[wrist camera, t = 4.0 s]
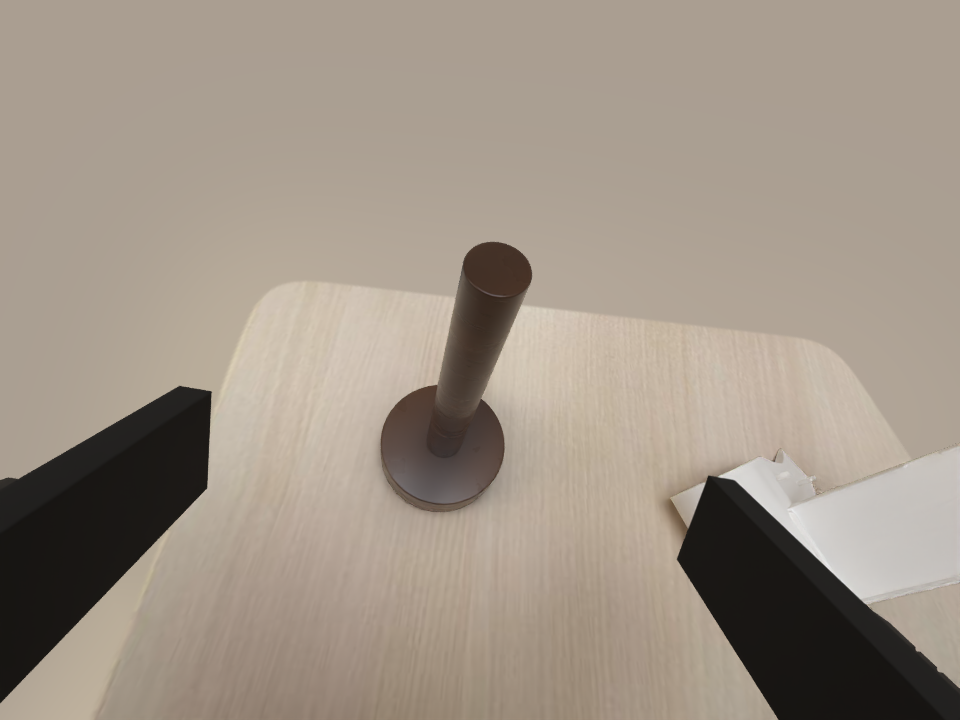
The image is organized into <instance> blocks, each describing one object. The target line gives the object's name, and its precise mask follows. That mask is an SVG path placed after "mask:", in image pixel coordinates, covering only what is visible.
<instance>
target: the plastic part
mask: <svg viewBox="0 0 960 720" xmlns="http://www.w3.org/2000/svg"><path fill="white" fill-rule="evenodd" d="M718 477H720V478H726V479H732V480H735V481H736V482H737V483H738V484H739V485H740V486H742V487H743V488H744V489H745V490H746V491H747V492H748V493H749V494H750V495H751V496H752V497H753V498H754V499H755V500H756V501H757V502H758V503H759V504H760V505H762V506H763V507H764V508H765V509H766V510H767V511H768V512H769V513H770V514H771V515H772V516H773V517H774V518H775V519H776V520H777V521H778V522H779V523H780V524H782V525H783V526H784V527H785V528H786V529H787V530H788V531H789V532H790V533H791V534H792V535H793V536H794V537H795V538H796V539H797V540H798V541H799V542H800V543H802V544H803V545H804V546H805V547H806V548H807V549H808V550H809V551H810V552H811V553H812V554H813V555H814V556H815V557H816V558H817V559H818V560H819V561H820V562H822V563H823V564H824V565H825V566H826V567H827V568H828V569H829V570H830V571H831V572H832V573H833V574H834V575H835V576H836V577H837V578H838V579H839V580H840V581H842V582H843V583H844V584H845V585H846V586H847V587H848V588H849V589H850V590H851V591H852V592H853V593H854V594H855V595H856V596H857V597H858V598H859V599H860V600H862V601H863V602H864V603H865V604H870V603H874V602H878V601H883V600H887V599H891V598H896V597H900V596H904V595H909V594H913V593H917V592H922V591H926V590H930V589H935V588H939V587H943V586H948V585H952V584H957V583H960V443H958V444H955V445H952V446H949V447H947V448H944V449H941V450H938V451H936V452H933V453H930V454H928V455H925V456H922V457H920V458H917V459H914V460H911V461H908V462H906V463H903V464H900V465H898V466H895V467H892V468H889V469H887V470H884V471H881V472H878V473H876V474H873V475H870V476H867V477H865V478H862V479H859V480H856V481H854V482H851V483H848V484H845V485H843V486H840V487H837V488H835V489H832V490H829V491H826V492H824V493H821V494H818V495H816V493H815V490H814V487H813V485H812V482H813V481H814V480H816V477H815V476H814V475H813V476H810V477H807V476H806V475H805V474H804V472H803V471H802V470H801V469H800V468H799V467H798V466H797V465H796V464H795V463H794V462H793V460H792V459H791V458H790V457H789V456H788V455H787V454H786V453H785V452H784V451H783V450H782V449H779V451H778V453H777V456H776V459H775V462H772V461H770V460H768V459H766V458H763V457H757V458H755V459H753V460H751V461H749V462H747V463H745V464H743V465H741V466H739V467H737V468H735V469H733V470H731V471H728V472H726V473H724V474H722V475H720V476H718ZM705 483H706V482H705ZM705 483H700V484H697V485H695V486H693V487H691V488H689V489H687V490H685V491H683V492H681V493H678V494H676V495H674V496H672V497H671V500H672V502H673V503H674V505H675V507H676V509H677V510H678V512H679V514H680V516H681V517H682V519H683V521H684V523H685V524H686V526H687V528H689V526H690V523H691V520H692V518H693V515H694V512H695V510H696V507H697V505H698V502H699V499H700V497H701V494H702V491H703V489H704V486H705Z"/></svg>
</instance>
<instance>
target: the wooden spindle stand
mask: <svg viewBox="0 0 960 720" xmlns="http://www.w3.org/2000/svg"><path fill="white" fill-rule="evenodd" d="M531 280H532V270H531V266H530V264H529V262H528V260H527V259H526V257H525V256H524V255H523V254H522V253H521V252H520V251H519V250H517V249H516V248H514V247H512V246H510V245H507V244H504V243H499V242H486V243H482V244H479V245H477V246H475V247H473V248H472V249H471V250H470V251H469V252H468V253H467V255H466V256H465V258H464V262H463V266H462V271H461V276H460V281H459V286H458V291H457V295H456V300H455V305H454V310H453V314H452V319H451V324H450V329H449V334H448V338H447V343H446V348H445V353H444V358H443V362H442V367H441V372H440V377H439V382H438V385H434V386H428V387H424V388H421V389H418V390H416V391H414V392H412V393H410V394H408V395H407V396H405V397H404V398H403V399H401V400H400V401H399V402H398V403H397V404H396V405H395V407H394V408H393V409H392V410H391V412H390V413H389V415H388V417H387V419H386V421H385V423H384V426H383V430H382V435H381V459H382V466H383V470H384V473H385V476H386V478H387V480H388V482H389V483H390V485H391V487H392V488H393V489H394V491H395V492H396V493H397V494H398V495H399V496H400V497H401V498H402V499H404V500H405V501H407V502H408V503H410V504H411V505H413V506H415V507H418V508H420V509H423V510H428V511H433V512H446V511H452V510H457V509H459V508H462V507H465V506H466V505H468V504H470V503H472V502H473V501H475V500H476V499H477V498H478V497H479V496H480V495H482V494H483V492H484V491H485V490H486V489H487V487H488V486H489V485H490V484H491V482H492V481H493V480H494V478H495V477H496V475H497V473H498V472H499V469H500V467H501V464H502V461H503V456H504V436H503V431H502V428H501V425H500V423H499V420H498V418H497V417H496V415H495V413H494V412H493V411H492V409H491V408H490V407H489V406H488V405H487V404H486V403H485V402H484V401H483V400H482V399H481V398H482V395H483V393H484V391H485V388H486V386H487V384H488V381H489V379H490V377H491V374H492V372H493V370H494V367H495V365H496V363H497V360H498V358H499V355H500V353H501V351H502V348H503V346H504V344H505V341H506V339H507V337H508V334H509V332H510V330H511V327H512V325H513V323H514V320H515V318H516V316H517V313H518V311H519V309H520V306H521V304H522V302H523V299H524V297H525V295H526V292H527V290H528V288H529V285H530V283H531Z"/></svg>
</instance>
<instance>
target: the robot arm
mask: <svg viewBox="0 0 960 720" xmlns="http://www.w3.org/2000/svg"><path fill="white" fill-rule="evenodd" d="M211 393H212V392H211V391H206V390H200V389H194V388H189V387H182V386H179V387H177V388H175V389H173V390H172V391H170V392H168V393H166V394H165V395H163V396H161V397H160V398H158V399H156V400H154V401H153V402H151V403H149V404H147V405H146V406H144V407H142V408H141V409H139V410H137V411H136V412H134V413H132V414H130V415H128V416H127V417H125V418H123V419H122V420H120V421H118V422H116V423H115V424H113V425H111V426H109V427H108V428H106V429H104V430H102V431H101V432H99V433H97V434H95V435H94V436H92V437H90V438H89V439H87V440H85V441H83V442H82V443H80V444H78V445H76V446H75V447H73V448H71V449H70V450H68V451H66V452H64V453H63V454H61V455H59V456H58V457H56V458H54V459H52V460H51V461H49V462H47V463H46V464H44V465H42V466H40V467H38V468H37V469H35V470H33V471H31V472H30V473H28V474H26V475H25V476H23V477H21V478H20V479H14V478H5V479H3V480H0V703H1V702H2V701H3V700H4V699H5V698H6V697H7V696H8V695H9V694H10V692H12V691H13V689H14V688H15V687H16V686H17V685H18V684H19V683H20V682H21V681H22V680H23V679H24V678H25V677H26V676H27V675H28V674H29V673H30V671H32V670H33V669H34V668H35V667H36V666H37V665H38V663H39V662H40V661H41V660H42V659H43V658H44V657H45V656H46V655H47V654H48V653H49V652H50V651H51V650H52V649H53V648H54V647H55V646H56V645H57V644H58V643H59V641H61V640H62V638H63V637H64V636H65V635H66V634H67V633H68V632H69V631H70V630H71V629H72V628H73V627H74V626H75V625H76V624H77V623H78V622H79V621H80V620H81V619H82V618H83V617H84V616H85V615H86V613H88V611H89V610H90V609H91V608H92V607H93V606H94V605H95V604H96V603H97V602H98V601H99V600H100V599H101V598H102V597H103V596H104V595H105V594H106V593H107V592H108V591H109V590H110V589H111V588H112V587H113V586H114V584H115V583H116V582H117V581H118V580H119V579H120V578H121V577H122V576H123V575H124V574H125V573H126V572H127V571H128V570H129V569H130V568H131V567H132V566H133V565H134V564H135V563H136V562H137V561H138V560H139V558H140V557H141V556H142V555H143V554H144V553H145V552H146V551H147V550H148V549H149V548H150V547H151V546H152V545H153V544H154V543H155V542H156V541H157V540H158V539H159V538H160V537H161V536H162V535H163V534H164V532H165V531H166V530H167V529H168V528H169V527H170V526H171V525H172V524H173V523H174V522H175V521H176V520H177V519H178V518H179V517H180V516H181V515H182V514H183V513H184V512H185V511H186V510H187V509H188V508H189V506H190V505H191V504H192V503H193V502H194V501H195V500H196V499H197V498H198V497H199V496H200V495H201V494H202V493H203V492H204V491H205V490H206V489H207V481H208V459H209V437H210V415H211ZM677 560H678V562H679V563H680V565H681V567H682V568H683V570H684V571H685V573H686V574H687V576H688V578H689V579H690V581H691V582H692V584H693V586H694V587H695V589H696V590H697V592H698V593H699V595H700V597H701V598H702V600H703V601H704V603H705V604H706V606H707V608H708V609H709V611H710V612H711V614H712V616H713V617H714V619H715V620H716V622H717V623H718V625H719V627H720V628H721V630H722V631H723V633H724V634H725V636H726V638H727V639H728V641H729V642H730V644H731V645H732V647H733V649H734V650H735V652H736V653H737V655H738V657H739V658H740V660H741V661H742V663H743V664H744V666H745V668H746V669H747V671H748V672H749V674H750V675H751V677H752V679H753V680H754V682H755V683H756V685H757V687H758V688H759V690H760V691H761V693H762V694H763V696H764V698H765V699H766V701H767V702H768V704H769V705H770V707H771V709H772V710H773V712H774V713H775V715H776V717H777V718H778V720H960V689H959V688H958V687H957V686H956V685H955V684H954V683H953V682H952V681H951V680H950V679H949V678H948V677H947V676H946V675H945V674H944V673H941V672H938V671H937V667H936V666H935V665H934V664H933V663H932V662H931V661H930V660H929V659H928V658H926V657H925V656H924V655H923V654H922V653H921V652H917V651H916V649H915V646H914V645H913V644H912V643H911V642H909V641H908V640H907V639H906V638H905V637H904V636H903V635H902V634H901V633H900V632H899V631H898V630H897V629H896V628H895V627H893V626H892V625H891V624H890V623H889V622H888V621H886V620H885V619H883V618H882V617H881V616H879V615H878V614H876V613H875V612H873V611H872V610H871V609H870V608H869V607H868V606H867V605H866V604H865V603H864V602H863V601H862V600H860V599H859V598H858V597H857V596H856V595H855V594H854V593H853V592H852V591H851V590H850V589H849V588H848V587H847V586H846V585H845V584H844V583H843V582H842V581H840V580H839V579H838V578H837V577H836V576H835V575H834V574H833V573H832V572H831V571H830V570H829V569H828V568H827V567H826V566H825V565H824V564H823V563H822V562H820V561H819V560H818V559H817V558H816V557H815V556H814V555H813V554H812V553H811V552H810V551H809V550H808V549H807V548H806V547H805V546H804V545H803V544H802V543H800V542H799V541H798V540H797V539H796V538H795V537H794V536H793V535H792V534H791V533H790V532H789V531H788V530H787V529H786V528H785V527H784V526H783V525H782V524H780V523H779V522H778V521H777V520H776V519H775V518H774V517H773V516H772V515H771V514H770V513H769V512H768V511H767V510H766V509H765V508H764V507H763V506H762V505H760V504H759V503H758V502H757V501H756V500H755V499H754V498H753V497H752V496H751V495H750V494H749V493H748V492H747V491H746V490H745V489H744V488H743V487H742V486H740V485H739V484H738V483H737V482H736V481H735V480H732V479H726V478H720V477H714V476H708V478H707V481H706V483H705V486H704V489H703V491H702V494H701V497H700V499H699V502H698V505H697V507H696V510H695V512H694V515H693V518H692V520H691V523H690V526H689V528H688V531H687V534H686V536H685V539H684V541H683V544H682V547H681V549H680V552H679V555H678V557H677Z"/></svg>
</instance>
